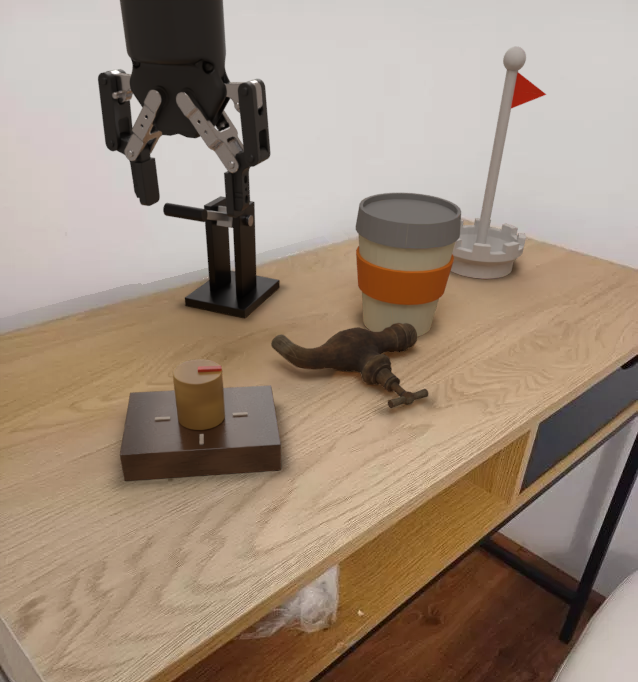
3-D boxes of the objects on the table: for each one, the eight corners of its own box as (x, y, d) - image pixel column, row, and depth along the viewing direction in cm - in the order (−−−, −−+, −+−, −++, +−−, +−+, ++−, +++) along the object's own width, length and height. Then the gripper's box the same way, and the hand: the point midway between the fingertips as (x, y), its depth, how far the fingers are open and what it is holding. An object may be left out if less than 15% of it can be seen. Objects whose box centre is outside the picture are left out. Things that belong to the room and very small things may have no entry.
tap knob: (177, 431, 58) (171, 382, 55) (178, 404, 62) (172, 356, 59) (225, 428, 59) (222, 379, 56) (224, 402, 63) (221, 354, 59)
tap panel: (124, 481, 57) (119, 453, 55) (134, 417, 65) (129, 390, 63) (281, 470, 59) (281, 443, 57) (271, 409, 67) (271, 383, 65)
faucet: (383, 332, 82) (463, 399, 73) (269, 361, 73) (344, 441, 64) (391, 299, 79) (476, 365, 70) (273, 325, 70) (352, 404, 61)
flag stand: (420, 267, 100) (450, 45, 83) (456, 244, 109) (489, 39, 92) (499, 288, 95) (549, 54, 77) (530, 262, 103) (581, 47, 86)
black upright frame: (245, 318, 84) (241, 221, 77) (185, 305, 87) (175, 210, 79) (279, 287, 92) (279, 196, 85) (224, 276, 95) (219, 187, 88)
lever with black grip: (200, 226, 72) (202, 204, 71) (162, 219, 74) (163, 197, 73) (251, 230, 84) (253, 211, 83) (217, 224, 85) (219, 205, 85)
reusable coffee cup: (411, 296, 91) (425, 188, 83) (464, 334, 82) (485, 217, 74) (333, 310, 87) (338, 197, 78) (379, 352, 78) (391, 230, 69)
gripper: (280, -13, 48) (283, 207, 57) (117, -17, 52) (145, 189, 61) (235, -10, 42) (247, 233, 52) (56, -16, 46) (97, 211, 56)
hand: (192, 209), depth 57 cm, fingers open, 8 cm apart
